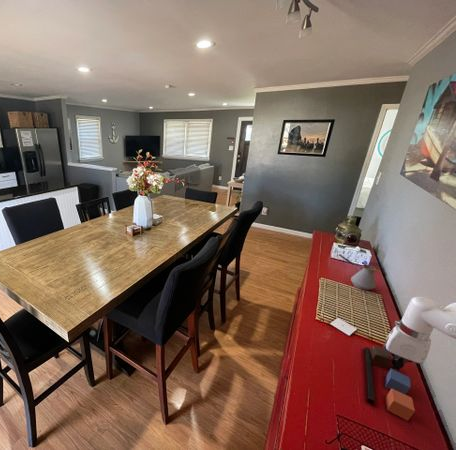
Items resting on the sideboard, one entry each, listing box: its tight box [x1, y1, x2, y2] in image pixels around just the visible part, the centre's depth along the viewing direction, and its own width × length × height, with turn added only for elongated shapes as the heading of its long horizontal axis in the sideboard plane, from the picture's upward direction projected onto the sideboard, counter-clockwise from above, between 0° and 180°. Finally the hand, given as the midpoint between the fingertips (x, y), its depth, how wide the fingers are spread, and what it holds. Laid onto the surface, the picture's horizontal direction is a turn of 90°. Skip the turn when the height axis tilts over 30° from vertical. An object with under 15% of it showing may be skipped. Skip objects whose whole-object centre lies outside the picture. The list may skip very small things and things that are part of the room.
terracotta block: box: [385, 388, 416, 422], centre depth 78 cm, size 5×5×5 cm
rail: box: [363, 346, 375, 406], centre depth 89 cm, size 2×26×2 cm, turn 143°
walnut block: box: [370, 344, 393, 370], centre depth 94 cm, size 5×5×5 cm
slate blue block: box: [384, 368, 411, 395], centre depth 85 cm, size 5×5×5 cm
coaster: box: [329, 317, 358, 336], centre depth 111 cm, size 8×8×1 cm
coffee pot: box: [337, 253, 378, 291], centre depth 142 cm, size 21×12×15 cm, turn 42°
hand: (395, 366), depth 92 cm, fingers closed
